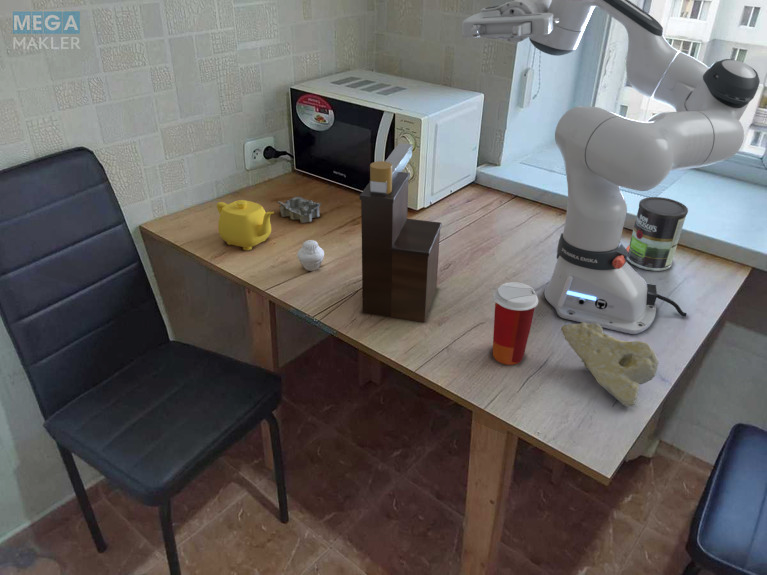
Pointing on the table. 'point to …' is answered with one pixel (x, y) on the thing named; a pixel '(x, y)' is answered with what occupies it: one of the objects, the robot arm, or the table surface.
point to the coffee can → (656, 233)
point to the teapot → (243, 223)
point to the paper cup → (512, 321)
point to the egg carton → (300, 209)
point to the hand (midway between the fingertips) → (494, 32)
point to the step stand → (397, 255)
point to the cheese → (613, 360)
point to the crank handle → (389, 169)
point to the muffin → (310, 255)
